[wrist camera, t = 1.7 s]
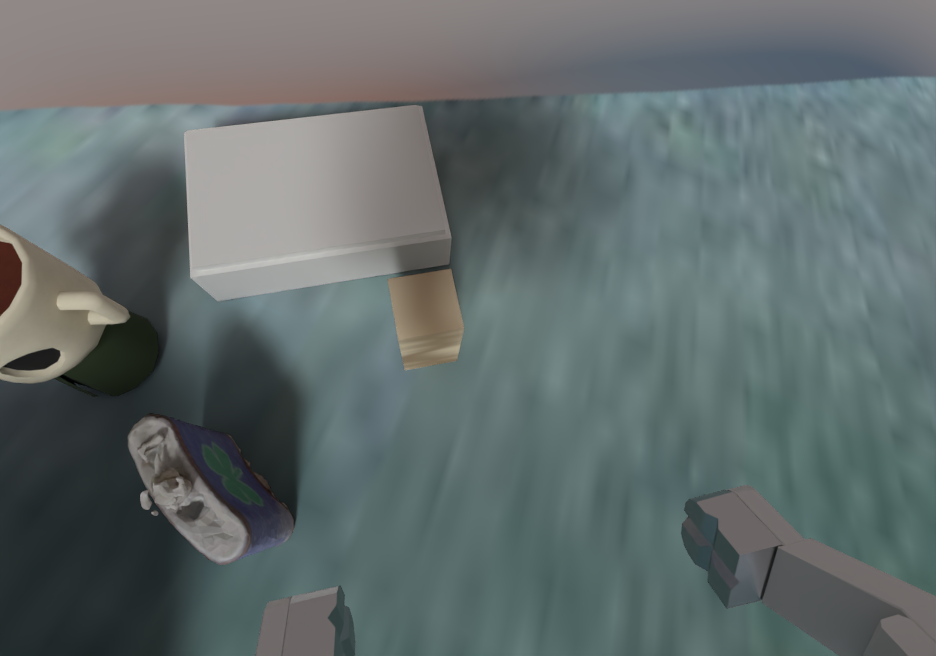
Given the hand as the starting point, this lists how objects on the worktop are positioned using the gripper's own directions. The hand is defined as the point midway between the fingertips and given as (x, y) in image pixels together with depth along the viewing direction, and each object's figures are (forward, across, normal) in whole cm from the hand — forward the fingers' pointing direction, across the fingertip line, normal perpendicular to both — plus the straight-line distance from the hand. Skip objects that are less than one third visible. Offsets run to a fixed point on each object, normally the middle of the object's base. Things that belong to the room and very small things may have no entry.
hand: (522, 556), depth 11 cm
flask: (+20, +14, +14) cm, 28 cm away
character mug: (+28, +22, +6) cm, 36 cm away
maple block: (+25, 0, +8) cm, 27 cm away
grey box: (+34, +6, -1) cm, 34 cm away
